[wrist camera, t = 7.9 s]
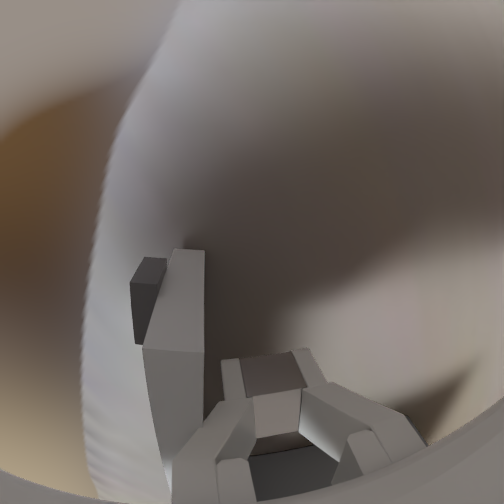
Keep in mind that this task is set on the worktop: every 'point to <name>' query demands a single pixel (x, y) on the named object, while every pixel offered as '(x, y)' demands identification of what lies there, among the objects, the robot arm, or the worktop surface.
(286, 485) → the box
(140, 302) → the side door
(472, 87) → the worktop surface
